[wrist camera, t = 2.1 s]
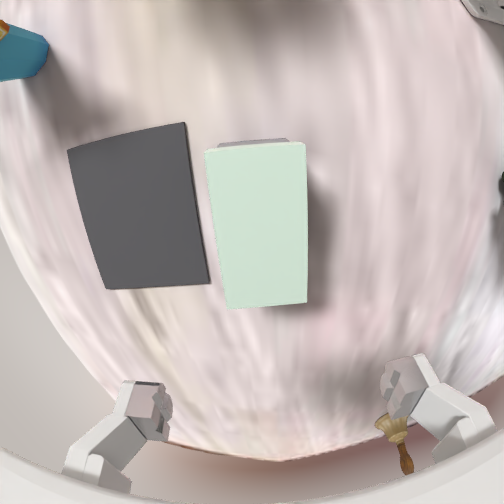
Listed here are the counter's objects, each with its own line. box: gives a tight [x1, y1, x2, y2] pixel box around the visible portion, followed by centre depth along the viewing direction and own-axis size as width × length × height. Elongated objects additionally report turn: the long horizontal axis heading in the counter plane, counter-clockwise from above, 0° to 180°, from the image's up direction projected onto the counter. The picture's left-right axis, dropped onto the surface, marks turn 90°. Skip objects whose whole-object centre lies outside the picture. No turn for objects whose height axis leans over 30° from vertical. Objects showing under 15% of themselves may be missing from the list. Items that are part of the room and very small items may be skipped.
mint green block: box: [204, 141, 308, 309], centre depth 22 cm, size 7×13×3 cm, turn 5°
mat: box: [67, 122, 209, 289], centre depth 28 cm, size 13×17×1 cm
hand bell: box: [375, 413, 414, 475], centre depth 43 cm, size 8×8×16 cm
